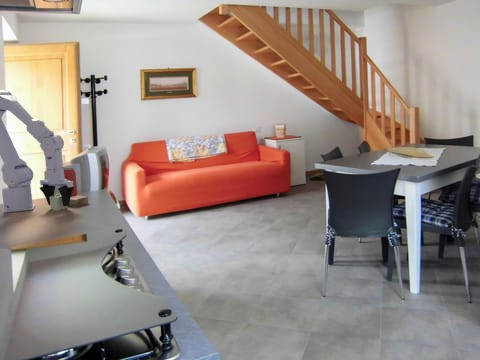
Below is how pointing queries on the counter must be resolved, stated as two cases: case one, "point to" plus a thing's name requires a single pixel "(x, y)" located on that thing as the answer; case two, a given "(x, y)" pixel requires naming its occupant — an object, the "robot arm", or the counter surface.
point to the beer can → (71, 179)
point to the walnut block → (78, 201)
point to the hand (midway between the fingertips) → (58, 205)
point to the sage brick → (56, 202)
